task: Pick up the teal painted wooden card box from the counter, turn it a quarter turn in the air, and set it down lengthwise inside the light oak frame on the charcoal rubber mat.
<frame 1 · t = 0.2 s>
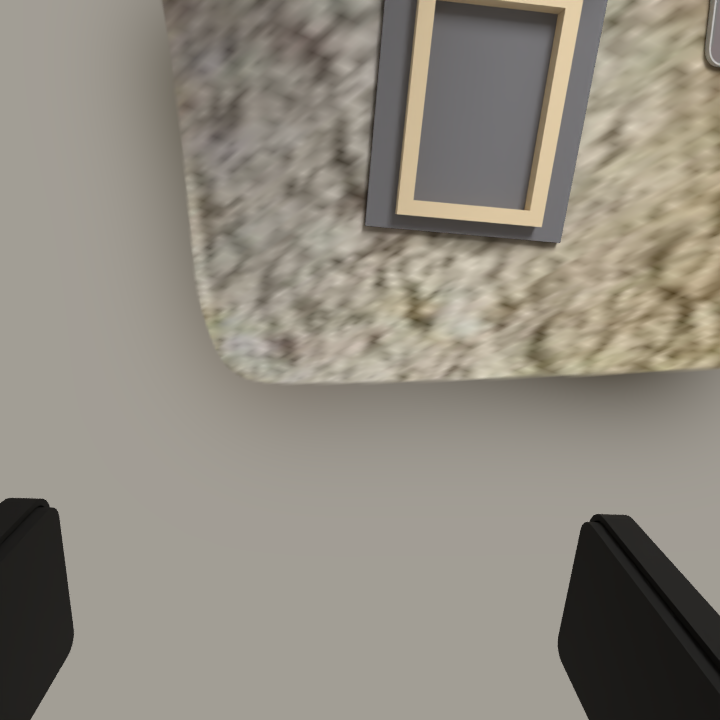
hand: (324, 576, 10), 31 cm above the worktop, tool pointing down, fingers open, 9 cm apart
mat: (479, 112, 36), on the worktop
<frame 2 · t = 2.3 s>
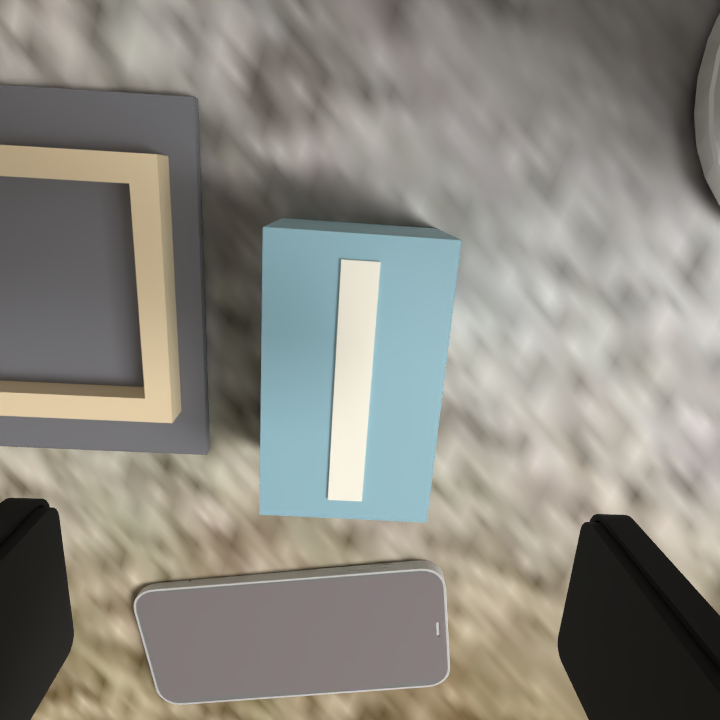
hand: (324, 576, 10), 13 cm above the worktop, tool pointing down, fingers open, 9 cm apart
smartphone: (297, 623, 27), on the worktop
card box: (351, 345, 22), on the worktop
mat: (0, 281, 21), on the worktop
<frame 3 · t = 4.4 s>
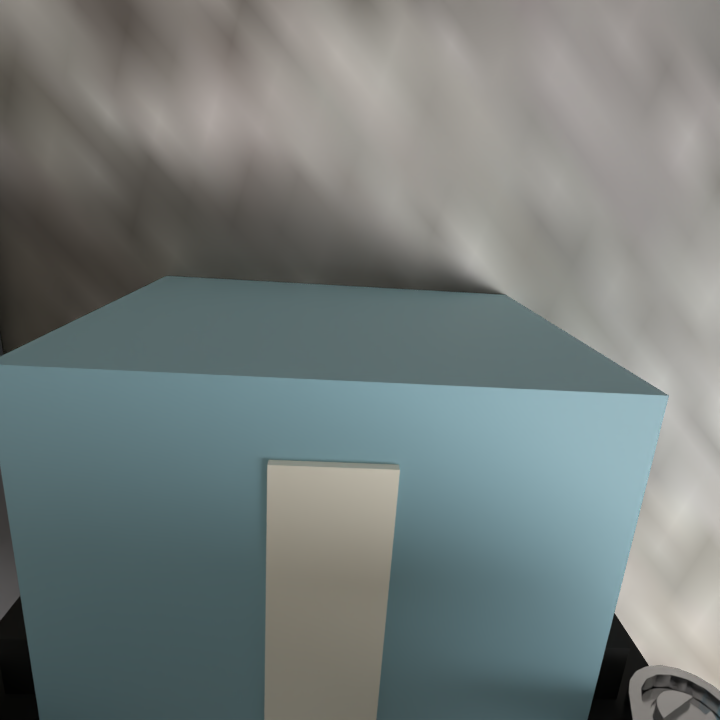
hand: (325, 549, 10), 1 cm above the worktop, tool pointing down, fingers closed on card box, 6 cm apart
card box: (326, 528, 11), on the worktop, touching gripper
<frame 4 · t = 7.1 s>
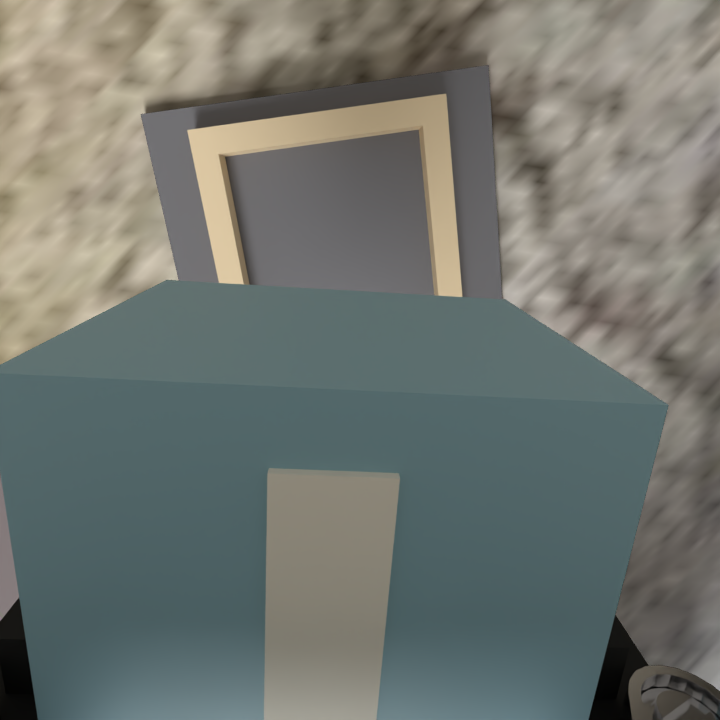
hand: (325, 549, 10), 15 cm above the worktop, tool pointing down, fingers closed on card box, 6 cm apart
smartphone: (54, 554, 28), on the worktop
card box: (326, 531, 11), point 14 cm above the worktop, touching gripper
mat: (342, 286, 24), on the worktop
when the fingers open (3 cm above the worktop, at t = 9.8 s): card box drops 2 cm, resting on mat.
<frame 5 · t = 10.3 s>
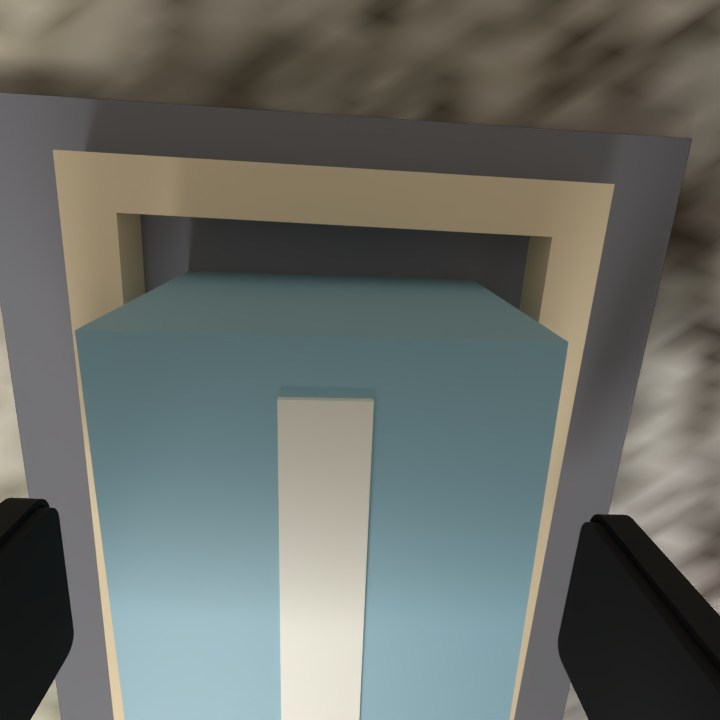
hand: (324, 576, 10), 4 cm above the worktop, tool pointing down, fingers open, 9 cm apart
card box: (327, 484, 13), resting on mat
mat: (328, 470, 13), on the worktop
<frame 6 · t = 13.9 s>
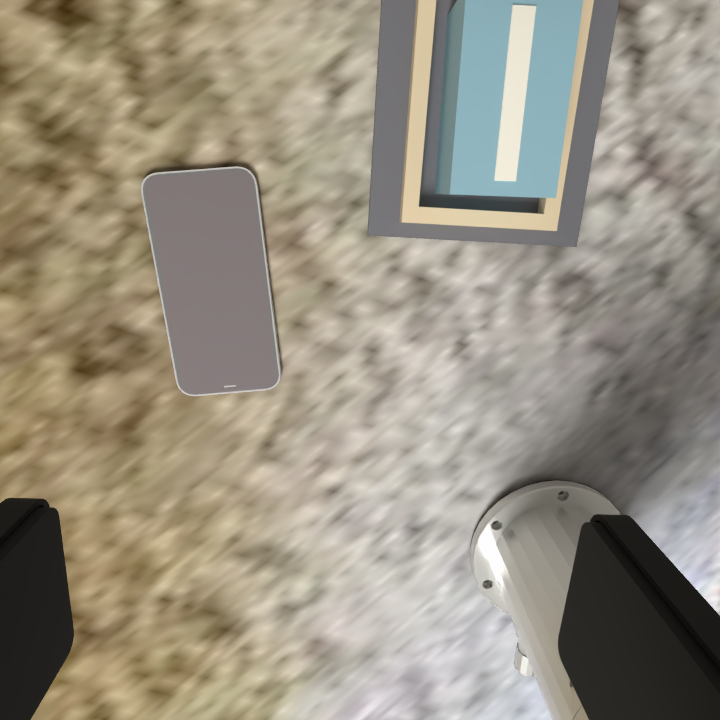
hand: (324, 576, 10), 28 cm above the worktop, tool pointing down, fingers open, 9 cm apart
smartphone: (218, 285, 37), on the worktop
card box: (488, 111, 33), resting on mat
mat: (486, 110, 33), on the worktop
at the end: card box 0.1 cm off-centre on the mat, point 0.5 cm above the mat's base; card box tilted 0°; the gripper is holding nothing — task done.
